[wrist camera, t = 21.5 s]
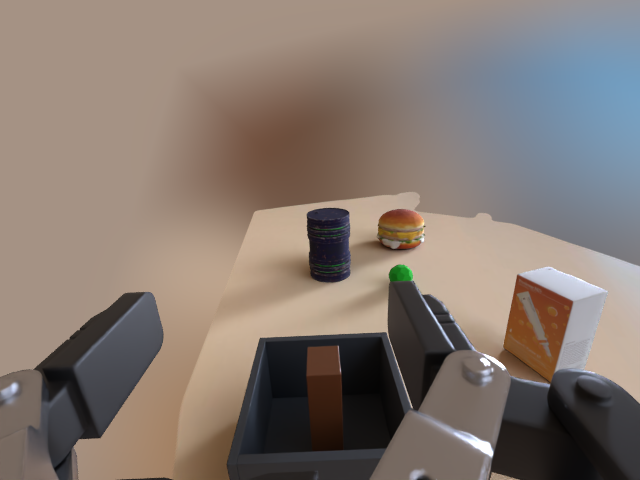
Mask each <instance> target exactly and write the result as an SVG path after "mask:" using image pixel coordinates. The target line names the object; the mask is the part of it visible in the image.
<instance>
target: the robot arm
mask: <svg viewBox="0 0 640 480" xmlns="http://www.w3.org/2000/svg"><path fill="white" fill-rule="evenodd" d="M388 332H389V338H390V341H391V344H392V347H393V350H394V353H395V356H396V359H397V362H398V365H399V368H400V371H401V374H402V377H403V380H404V383H405V386H406V389H407V391H408V394H409V397H410V400H411V403H412V406H413V409H412V408H411V409H410V410H409V411H408V412H407V413H406V415H405V417H404V418H403V420H402V422H401V424H400V425H399V427H398V429H397V431H396V433H395V434H394V436H393V438H392V440H391V442H390V443H389V445H388V447H387V449H386V451H385V452H384V454H383V456H382V458H381V460H380V461H379V463H378V465H377V467H376V469H375V470H374V472H373V474H372V476H371V478H370V479H369V480H490V478H491V473H492V472H494V473H498V474H501V475H505V476H509V477H512V478H516V479H519V480H640V404H639V403H638V402H637V401H636V400H635V399H634V398H633V397H632V396H631V395H630V394H629V393H628V392H626V391H625V390H624V389H623V388H622V387H620V386H619V385H617V384H616V383H614V382H613V381H611V380H609V379H607V378H605V377H603V376H601V375H598V374H596V373H593V372H590V371H586V370H582V369H576V368H565V369H560V370H558V371H556V372H555V373H554V374H553V376H552V380H551V384H546V383H541V382H535V381H530V380H525V379H520V378H516V377H512V376H510V375H509V372H508V371H507V369H506V368H505V367H504V366H503V365H502V364H501V363H500V362H498V361H497V360H496V359H494V358H492V357H490V356H488V355H486V354H483V353H480V352H477V351H476V350H475V348H474V347H473V346H472V344H471V343H470V341H469V340H468V338H467V337H466V335H465V334H464V333H463V331H462V330H461V328H460V327H459V325H458V324H457V323H455V320H454V318H453V317H452V315H450V313H449V311H448V310H447V308H446V307H445V305H444V304H443V303H442V302H441V301H439V300H438V299H436V298H435V297H433V296H432V295H422V294H421V292H420V291H419V289H418V288H417V286H416V284H415V283H414V281H392V282H390V284H389V299H388ZM162 343H163V329H162V325H161V321H160V317H159V314H158V309H157V305H156V301H155V298H154V296H153V294H152V293H150V292H136V293H125V294H123V295H122V296H121V297H120V298H119V299H118V300H117V301H116V302H115V303H113V304H112V305H111V306H110V307H109V308H108V309H106V310H105V311H103V312H101V313H100V314H98V315H96V316H94V317H93V318H91V319H90V320H89V321H88V322H87V323H85V325H83V326H82V327H81V328H80V330H78V331H76V332H75V333H74V334H73V335H72V336H71V337H70V339H69V340H66V341H65V342H64V343H63V344H62V345H61V346H59V347H58V348H57V349H56V350H55V351H54V352H53V353H51V354H50V355H49V356H48V357H47V358H46V359H45V360H44V361H42V362H41V363H40V364H39V365H38V366H37V367H36V368H35V369H33V370H30V369H29V370H21V371H17V372H13V373H10V374H7V375H4V376H2V377H0V480H78V466H77V455H76V452H75V449H74V447H73V446H74V445H75V444H76V442H77V441H78V439H91V438H101V436H102V435H103V433H104V432H105V430H106V429H107V428H108V426H109V424H110V423H111V422H112V420H113V419H114V417H115V415H116V414H117V413H118V411H119V409H120V408H121V407H122V405H123V404H124V402H125V401H126V399H127V398H128V396H129V395H130V393H131V392H132V390H133V389H134V387H135V386H136V384H137V383H138V382H139V380H140V379H141V377H142V376H143V374H144V373H145V371H146V370H147V368H148V367H149V365H150V364H151V362H152V361H153V359H154V358H155V356H156V355H157V353H158V352H159V350H160V349H161V346H162ZM122 480H123V479H122ZM124 480H172V479H168V478H147V479H124ZM248 480H319V477H318V471H305V472H282V473H267V474H264V475H261V476H257V477H254V478H251V479H248Z"/></svg>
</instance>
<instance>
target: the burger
mask: <svg viewBox="0 0 640 480" xmlns="http://www.w3.org/2000/svg"><path fill="white" fill-rule="evenodd" d="M378 226H379V227H378V231H379V232H378V235H377V238H378V239H379V240H380V242H381V243H382V244H383V245H385V246H388V247H391V248H392V249H396V248H398V249H407V248H413V247H416V246H418V245H419V244H420V243H423V242H424V236H425V235H424V234H423V230H424V227H425V226H424V220H423V219H422V217H421V216H420V215H419V214H417V213H416V212H414V211H410V210H406V209H397V210H391V211H389V212H386V213H385V214H383V215H382V216H381V217H380V219H379V224H378Z"/></svg>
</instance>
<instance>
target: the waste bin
mask: <svg viewBox="0 0 640 480" xmlns="http://www.w3.org/2000/svg"><path fill="white" fill-rule="evenodd" d="M322 346H339V356H340V366H341V382H342V415H343V447H344V450H339V451H315V452H312V442H311V429H310V417H309V404H308V391H307V379H306V371H307V348H308V347H322ZM410 409H411V406H410V403H409V400H408V397H407V394H406V391H405V388H404V384H403V381H402V378H401V375H400V372H399V369H398V366H397V363H396V360H395V357H394V354H393V351H392V348H391V345H390V342H389V339H388V336H387V333H386V332H382V333H360V334H338V335H316V336H294V337H272V338H260V340H259V343H258V347H257V351H256V355H255V359H254V362H253V366H252V370H251V374H250V378H249V381H248V385H247V389H246V393H245V397H244V401H243V404H242V408H241V412H240V416H239V420H238V423H237V427H236V431H235V435H234V439H233V442H232V446H231V450H230V454H229V458H228V461H227V468H228V473H229V478H230V480H248V479H251V478H254V477H257V476H261V475H264V474H267V473H282V472H305V471H318V477H319V480H369V479H370V478H371V476H372V474H373V472H374V470H375V469H376V467H377V465H378V463H379V461H380V460H381V458H382V456H383V454H384V452H385V451H386V449H387V447H388V445H389V443H390V442H391V440H392V438H393V436H394V434H395V433H396V431H397V429H398V427H399V425H400V424H401V422H402V420H403V418H404V417H405V415H406V413H407V412H408V411H409V410H410Z"/></svg>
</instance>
